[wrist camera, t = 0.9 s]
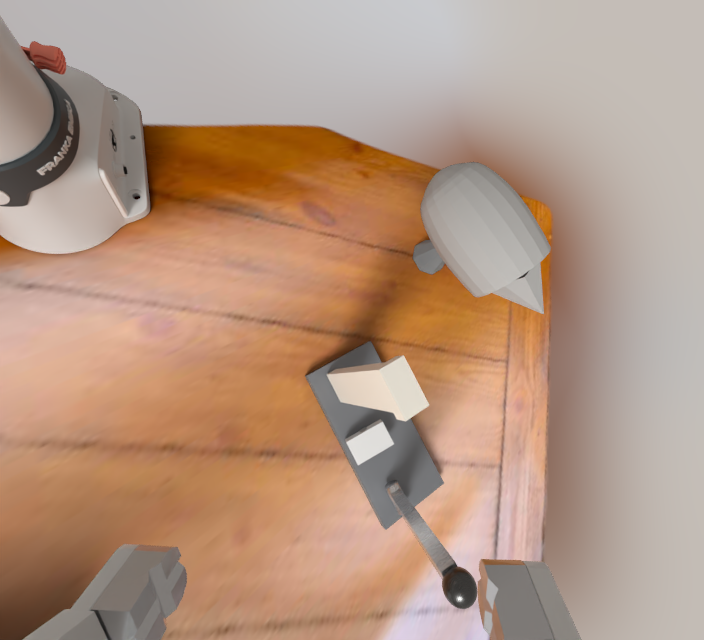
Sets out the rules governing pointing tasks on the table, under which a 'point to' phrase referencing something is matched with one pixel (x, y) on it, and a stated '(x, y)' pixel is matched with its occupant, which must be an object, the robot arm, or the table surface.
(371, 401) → the beige rectangular bar
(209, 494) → the table surface
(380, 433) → the block
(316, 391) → the console
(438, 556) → the steel toggle lever
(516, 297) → the jet engine
